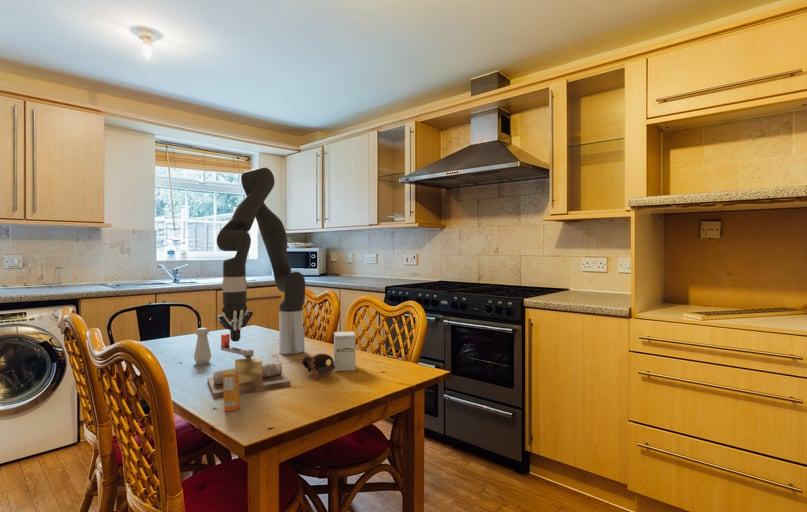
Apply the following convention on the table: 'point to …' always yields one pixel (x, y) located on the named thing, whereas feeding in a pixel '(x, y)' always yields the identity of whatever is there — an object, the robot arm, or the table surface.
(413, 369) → the table surface
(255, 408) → the table surface
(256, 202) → the robot arm
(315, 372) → the pottery mug
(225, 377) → the supplement box
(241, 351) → the valve lever
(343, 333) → the supplement box
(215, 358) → the table surface
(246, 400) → the table surface
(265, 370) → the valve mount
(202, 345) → the salt shaker
